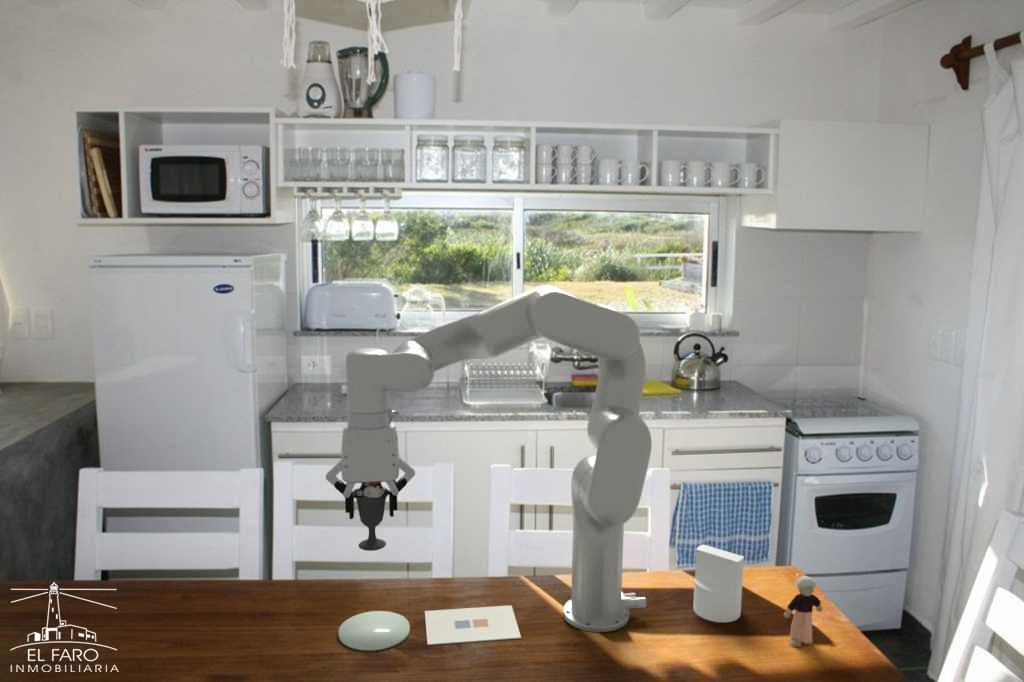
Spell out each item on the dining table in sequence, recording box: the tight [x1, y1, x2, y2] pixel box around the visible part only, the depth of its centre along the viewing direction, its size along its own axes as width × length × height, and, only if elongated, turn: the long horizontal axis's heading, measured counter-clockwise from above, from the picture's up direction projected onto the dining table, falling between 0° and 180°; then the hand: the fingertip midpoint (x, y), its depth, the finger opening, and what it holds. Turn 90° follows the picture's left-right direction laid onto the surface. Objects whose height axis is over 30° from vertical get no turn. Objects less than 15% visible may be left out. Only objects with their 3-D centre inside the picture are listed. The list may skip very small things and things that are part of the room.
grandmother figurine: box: [783, 575, 823, 648], centre depth 147 cm, size 8×4×13 cm, turn 117°
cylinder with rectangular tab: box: [692, 544, 745, 623], centre depth 158 cm, size 9×9×12 cm
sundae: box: [352, 482, 390, 552], centre depth 146 cm, size 7×7×15 cm
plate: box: [338, 610, 411, 652], centre depth 151 cm, size 13×13×1 cm
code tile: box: [424, 605, 522, 646], centre depth 153 cm, size 17×12×1 cm
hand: (371, 514), depth 147 cm, fingers closed on sundae, 6 cm apart
